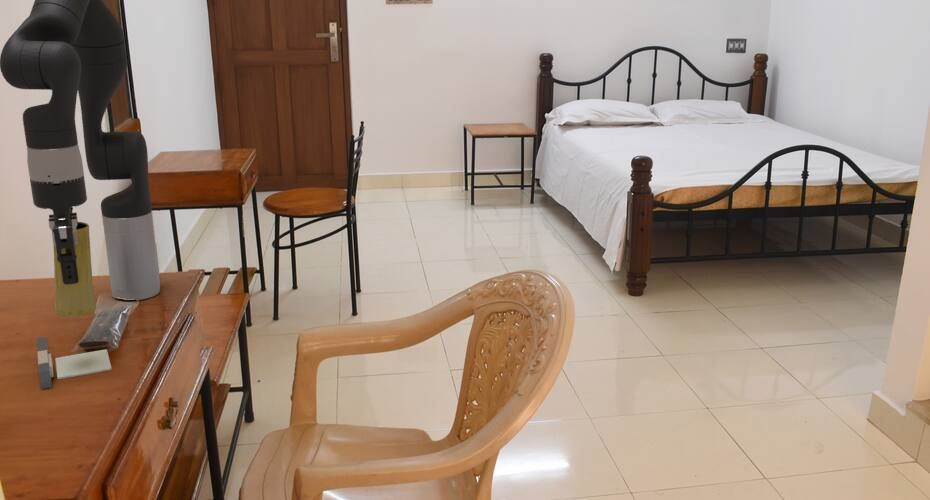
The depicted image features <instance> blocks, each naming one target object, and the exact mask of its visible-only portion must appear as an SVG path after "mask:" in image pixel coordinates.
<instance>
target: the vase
mask: <svg viewBox="0 0 930 500" xmlns="http://www.w3.org/2000/svg"><path fill="white" fill-rule="evenodd" d="M77 224H78V227H77V229H76V232H77V239H78V245H77V246H75V251H76V255H77V258H76V260H77V261H76V264H77V271H78V278H79V281H78V283H76V284H67V285H66V284H64V283H63V278H62V271H61V264H60V262H58V260H57V257H58V256H57V250H56V247H54V246H53V265H54V266H53V267H54V273H53V274H54V296H55V297H54V298H55V302H54V303H55V305H54V312H55V314H57V315H60V316H63V317H78V316H79V317H80V316H85V315H88V314H92V313H93V312H94V311H96V309H97V304H96V302H95V291H94V282H93V281H94V280H93V270H92V269H93V268H92V254H91V238H90V225H89V224H88V223H86V222H84V221H78V223H77ZM72 235H73V231H72ZM73 238H74V237H73ZM61 251H62V254H65V253H71V249H70V248H64V249H61Z"/></svg>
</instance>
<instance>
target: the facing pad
mask: <svg viewBox="0 0 930 500" xmlns="http://www.w3.org/2000/svg"><path fill="white" fill-rule="evenodd" d="M55 368H56V376H57V380H63V379H69V378H75V377H80V376H85V375H92V374H96V373H97V374H98V373H101V372H108V371H112V370H113V369H112V365H111V361H110V357H109V353H108V349H107V348H106V349H100V350H95V351H89V352H83V353H77V354H71V355H66V356H64V355H63V356H60V357H55Z"/></svg>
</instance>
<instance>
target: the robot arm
mask: <svg viewBox="0 0 930 500" xmlns="http://www.w3.org/2000/svg"><path fill="white" fill-rule="evenodd" d="M123 30H124V29H123V27H122V25H121V24H120V22H119V20H118V19H117V17H116V16H115V14H114V13H113V12H112V10H111V9H110V8H109V7H108V6H107V4H106V3H105V1H103V0H34V1H33V5H32V8H31V11H30V13H29V15H28V17H27V18H25V20H24V21H22V23H21V24H20V25H19V26H18V28H17V29H16V30H14V32H13V33H12V34H11V36H9V38H8V39H7V41H6V42H5V44H4V46H3V48H2V50H1V52H0V72H1V75H2V77H3V79H4V80H5V81H6V82H7V84H9V85H10V86H11V87H14V88H16V89H20V90H21V89H22V90H39V91H40V90H41V91H42V90H44V91H45V90H48V91H49V90H51V97H50V99H49V101H48V103H42V104H38V105H33V106H30V107H28V108H26V109H24V110H23V113H22V121H23V122H22V124H23V130H24V137H25V143H26V151H27V152H26V153H27V156H26V158H27V169H28V177H29V181H30V190H31V195H32V201H33V202H32V203H33V205H34V206H35V207H36V208H39V209H43V210H47V209H49V210H51V211H52V214H48V217H49V218H48V226H49V229H50V230H51V237H52V245H53V248H54V247H56V250H57V256H58V257H57V260H58V262H60V264H61V271H62V278H63V283H64V284H66V285H67V284H76V283H78V281H79V278H78V271H77V264H76V261H77V260H76V258H77V255H76V251H75V246H77V245H78V239H77V232H76V229H77V227H78V224H77V223H78V222H79V220H78V213H77V211H76V212H73V210H74V207H79V206H82V205H83V204H85V203H86V202H87V200H88V196H87V187H86V181H85V173H84V166H83V165H84V163H83V159H82V154H81V152H80V146H79V140H78V133H77V127H76V126H77V125H76V108H77V106H76V105H77V98H79V99H78V100H79V103H80V104H79V105H80V113H81V121H82V132H83V141H84V142H83V144H84V152H85V159H86V165H87V169H88V171H89V174H90V176H91V177H92V178H93V179H94V180H96V181H97V180H98V181H112V180H113V181H115V180H117V181H118V180H130V181H131V183H130V184H129V186H127V187H125V188H124V189H122V190H121V191H118V192H115V193H113V194H110V195H107V196H106V197H104V198H103V199H102V200H101V203H100V209H101V217H102V218H101V219H102V226H103V231H104V232H103V233H104V241H105V249H106V257H107V265H108V273H109V274H108V275H109V281H110V282H109V283H110V291H111V296H112V297H113V296H114V297H120V298H126V299H138V300H137V301H141V300H146V299H149V298H152V297H155V296H156V295H158V294H159V293H160V292H161V277H160V267H159V256H158V247H157V242H156V236H155V226H154V219H153V210H152V209H153V207H152V200H151V190H150V180H149V158H148V157H149V156H148V147H147V141H146V138H145V137H144V135H143V134H142V132H140V131H103V129H102V124H103V123H102V122H103V118H104V116H105V113H106V111H107V108H108V105H109V103H110V102H111V100H112V98H113V96H114V94H115V92H116V91H117V89H118V87H119V86H120V84H121V83H122V80H123V79H124V76H125V74H126V72H127V69H128V57H127V49H126V48H127V47H126V42H125V41H126V39H125V34H124V31H123ZM72 231H73V235H72ZM73 237H74V238H73ZM64 248H70V249H71V253H65V254H62V251H61V249H64Z"/></svg>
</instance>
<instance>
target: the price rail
mask: <svg viewBox="0 0 930 500" xmlns="http://www.w3.org/2000/svg"><path fill="white" fill-rule="evenodd" d="M35 340H36V349H37V352H36V353H37V366H38V377H39V382H40V388H41V390H47V389H51V388H53V383H52V378H54V377H55V376H54V366H53V359H52V354H51V353H49V352H50V351H49V346H48V339H47V336H41V337H36V339H35Z"/></svg>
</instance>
